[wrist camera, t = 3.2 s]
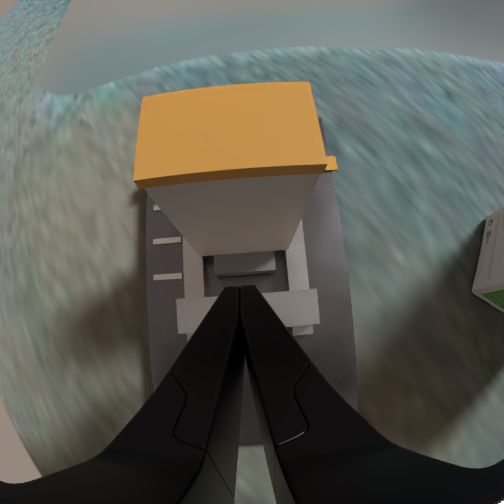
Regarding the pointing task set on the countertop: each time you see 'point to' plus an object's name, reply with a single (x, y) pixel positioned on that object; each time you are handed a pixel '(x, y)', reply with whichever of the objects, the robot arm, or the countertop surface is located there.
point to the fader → (232, 167)
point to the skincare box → (491, 262)
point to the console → (271, 287)
